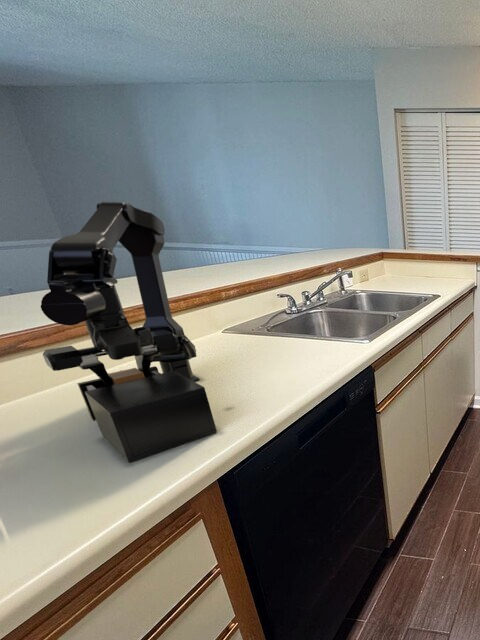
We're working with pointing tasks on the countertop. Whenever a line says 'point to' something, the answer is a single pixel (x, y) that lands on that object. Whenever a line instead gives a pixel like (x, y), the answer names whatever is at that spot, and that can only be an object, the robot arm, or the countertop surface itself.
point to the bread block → (126, 375)
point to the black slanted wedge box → (151, 414)
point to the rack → (99, 384)
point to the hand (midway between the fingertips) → (130, 389)
